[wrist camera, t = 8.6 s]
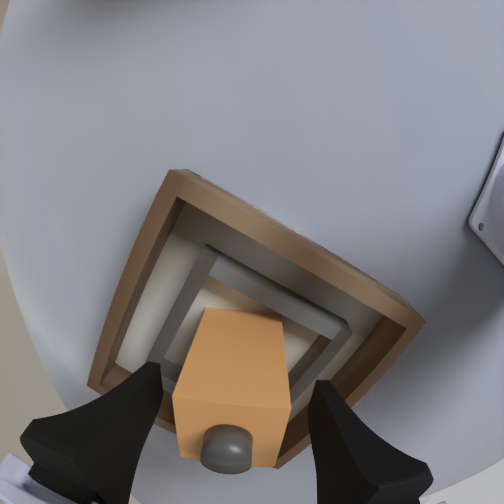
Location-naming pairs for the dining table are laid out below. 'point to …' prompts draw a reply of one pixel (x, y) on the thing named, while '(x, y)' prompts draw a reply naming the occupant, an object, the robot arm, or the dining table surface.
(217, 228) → the walled box
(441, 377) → the dining table surface
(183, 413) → the tan tall block
